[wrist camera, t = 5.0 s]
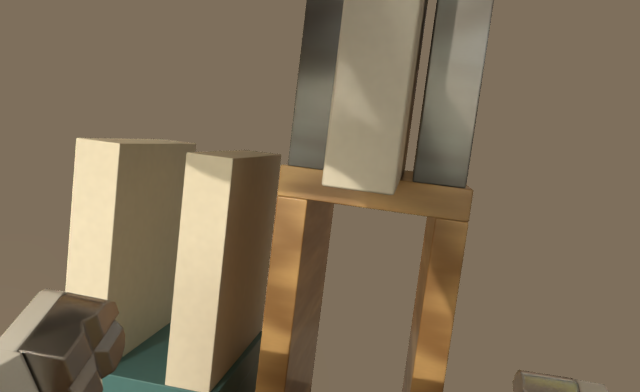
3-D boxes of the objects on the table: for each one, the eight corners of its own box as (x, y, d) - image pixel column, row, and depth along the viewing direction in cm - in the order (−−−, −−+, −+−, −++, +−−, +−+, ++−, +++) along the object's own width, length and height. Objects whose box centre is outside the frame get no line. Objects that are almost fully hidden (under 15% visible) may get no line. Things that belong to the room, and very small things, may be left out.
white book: (320, 185, 19) (372, -240, 17) (368, 164, 37) (394, -40, 36) (393, 196, 18) (453, -238, 17) (404, 169, 37) (433, -37, 35)
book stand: (225, 654, 30) (312, -123, 25) (272, 528, 40) (341, -49, 35) (396, 701, 28) (519, -112, 24) (400, 558, 38) (489, -38, 34)
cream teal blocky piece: (36, 603, 31) (69, 136, 29) (126, 494, 41) (158, 138, 38) (189, 645, 30) (240, 159, 27) (244, 521, 40) (286, 155, 37)
